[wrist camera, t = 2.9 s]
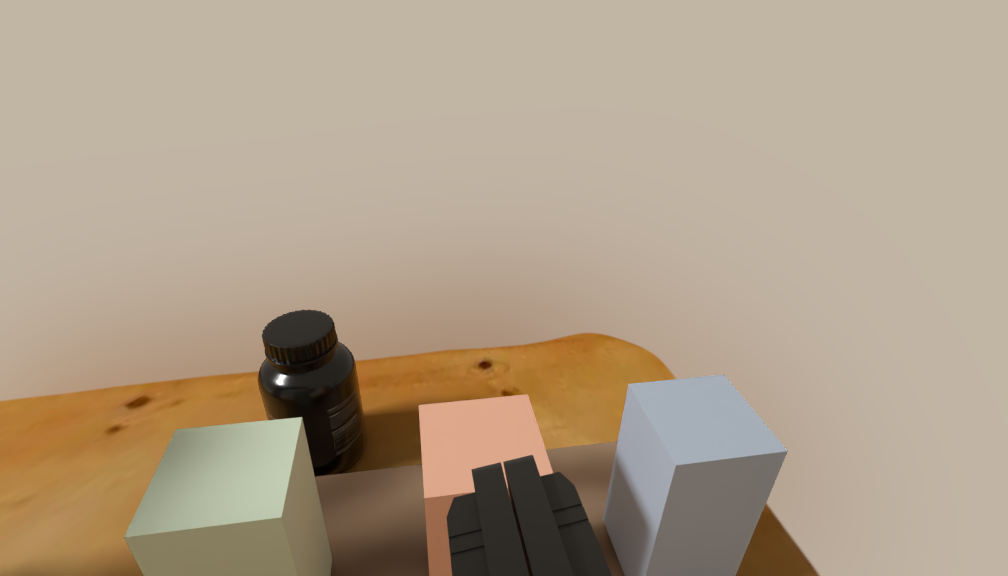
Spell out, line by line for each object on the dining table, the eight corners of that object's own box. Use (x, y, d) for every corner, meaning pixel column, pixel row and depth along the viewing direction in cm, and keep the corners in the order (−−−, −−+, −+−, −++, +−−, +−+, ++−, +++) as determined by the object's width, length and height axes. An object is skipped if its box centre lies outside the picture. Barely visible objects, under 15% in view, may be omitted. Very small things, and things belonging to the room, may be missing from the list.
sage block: (321, 663, 28) (281, 517, 22) (199, 684, 27) (124, 537, 21) (332, 559, 33) (302, 417, 27) (230, 573, 32) (175, 429, 26)
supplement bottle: (353, 408, 47) (336, 293, 41) (378, 462, 42) (363, 339, 36) (271, 436, 44) (239, 315, 38) (288, 497, 39) (254, 369, 33)
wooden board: (767, 654, 31) (773, 643, 30) (165, 774, 25) (158, 763, 25) (653, 447, 44) (655, 436, 44) (244, 496, 39) (241, 485, 38)
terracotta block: (538, 624, 30) (555, 481, 24) (433, 643, 29) (424, 498, 23) (518, 531, 36) (527, 394, 30) (427, 544, 35) (418, 405, 29)
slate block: (729, 590, 32) (787, 450, 27) (636, 606, 31) (676, 465, 25) (683, 507, 38) (723, 374, 32) (602, 519, 37) (628, 384, 31)
